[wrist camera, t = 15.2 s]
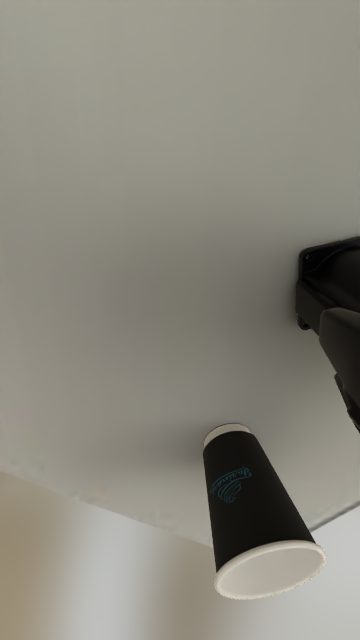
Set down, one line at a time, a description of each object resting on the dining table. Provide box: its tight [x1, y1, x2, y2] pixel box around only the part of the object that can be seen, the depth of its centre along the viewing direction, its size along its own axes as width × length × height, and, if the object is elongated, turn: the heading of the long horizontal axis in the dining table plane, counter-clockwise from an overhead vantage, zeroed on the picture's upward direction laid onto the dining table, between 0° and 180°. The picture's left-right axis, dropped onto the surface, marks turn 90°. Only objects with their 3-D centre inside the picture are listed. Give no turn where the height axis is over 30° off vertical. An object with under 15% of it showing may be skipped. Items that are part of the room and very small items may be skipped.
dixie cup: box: [203, 424, 326, 599], centre depth 26 cm, size 8×8×11 cm
